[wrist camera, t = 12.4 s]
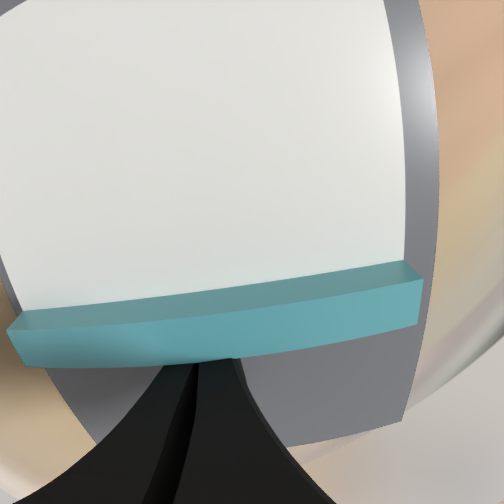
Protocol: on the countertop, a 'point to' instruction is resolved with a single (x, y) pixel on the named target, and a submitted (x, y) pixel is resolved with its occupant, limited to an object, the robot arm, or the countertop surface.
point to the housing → (331, 355)
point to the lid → (200, 179)
